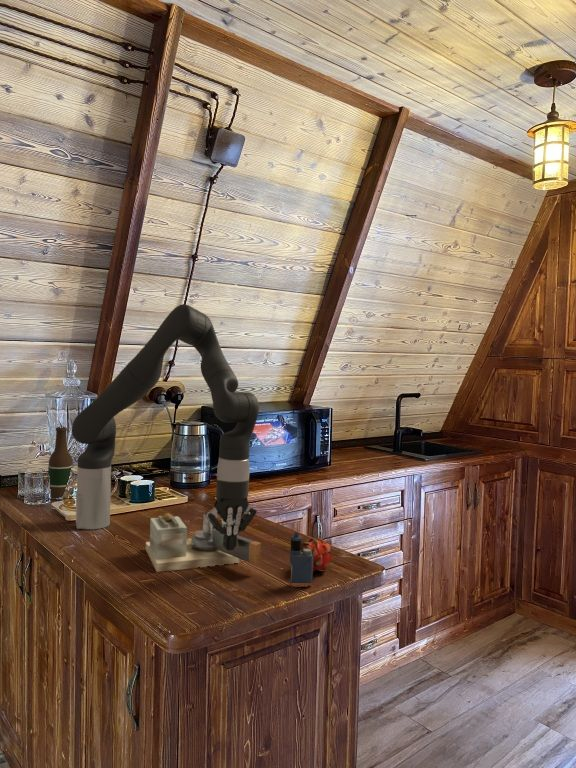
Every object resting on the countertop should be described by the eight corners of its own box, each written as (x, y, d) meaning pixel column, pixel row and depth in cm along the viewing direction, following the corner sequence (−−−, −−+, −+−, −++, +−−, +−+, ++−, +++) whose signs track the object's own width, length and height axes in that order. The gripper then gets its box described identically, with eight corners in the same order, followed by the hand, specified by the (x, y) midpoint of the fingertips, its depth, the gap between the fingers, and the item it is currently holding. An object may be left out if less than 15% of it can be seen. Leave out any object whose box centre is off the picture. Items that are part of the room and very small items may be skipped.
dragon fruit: (298, 585, 137) (318, 576, 148) (328, 568, 134) (346, 561, 145) (282, 551, 140) (303, 544, 150) (311, 534, 137) (330, 529, 148)
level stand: (156, 572, 137) (158, 525, 137) (145, 549, 152) (146, 507, 151) (238, 563, 145) (240, 519, 144) (220, 543, 160) (222, 502, 159)
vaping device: (288, 583, 134) (290, 531, 133) (311, 583, 134) (313, 531, 133) (289, 587, 131) (291, 534, 130) (312, 587, 132) (315, 534, 131)
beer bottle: (57, 501, 194) (59, 429, 193) (42, 497, 199) (44, 426, 197) (77, 497, 201) (78, 427, 200) (62, 493, 205) (63, 424, 204)
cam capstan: (184, 545, 150) (185, 514, 149) (209, 538, 155) (210, 508, 155) (244, 570, 134) (246, 535, 134) (269, 562, 140) (271, 528, 140)
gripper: (250, 472, 145) (247, 541, 146) (200, 475, 138) (197, 548, 139) (265, 478, 139) (261, 551, 140) (213, 482, 132) (209, 558, 133)
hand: (229, 549), depth 139 cm, fingers closed
